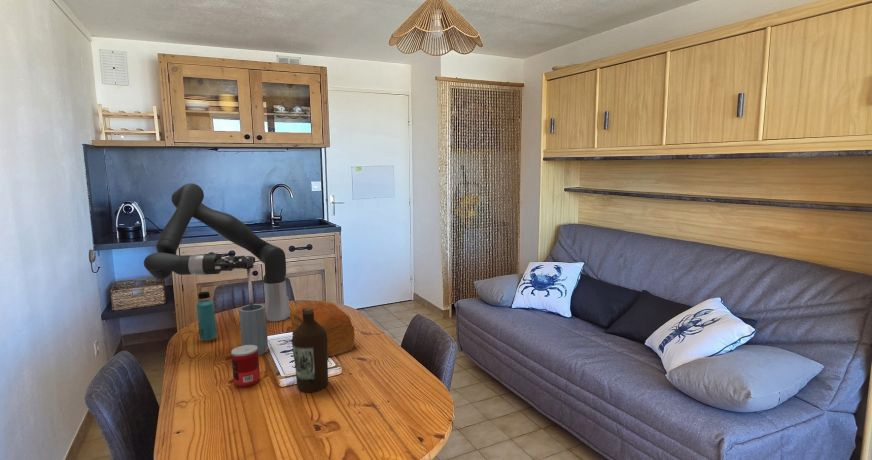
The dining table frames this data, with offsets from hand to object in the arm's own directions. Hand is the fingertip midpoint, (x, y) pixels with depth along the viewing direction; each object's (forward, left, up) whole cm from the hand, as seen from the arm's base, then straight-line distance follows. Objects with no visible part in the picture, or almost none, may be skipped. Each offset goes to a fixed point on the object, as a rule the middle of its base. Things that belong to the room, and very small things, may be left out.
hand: (251, 262), depth 172 cm
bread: (-18, +15, -34) cm, 42 cm away
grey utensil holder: (+1, -1, -34) cm, 34 cm away
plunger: (+1, -1, -22) cm, 22 cm away
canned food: (+17, +19, -34) cm, 43 cm away
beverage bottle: (+5, -27, -34) cm, 44 cm away
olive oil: (+7, +39, -34) cm, 52 cm away
